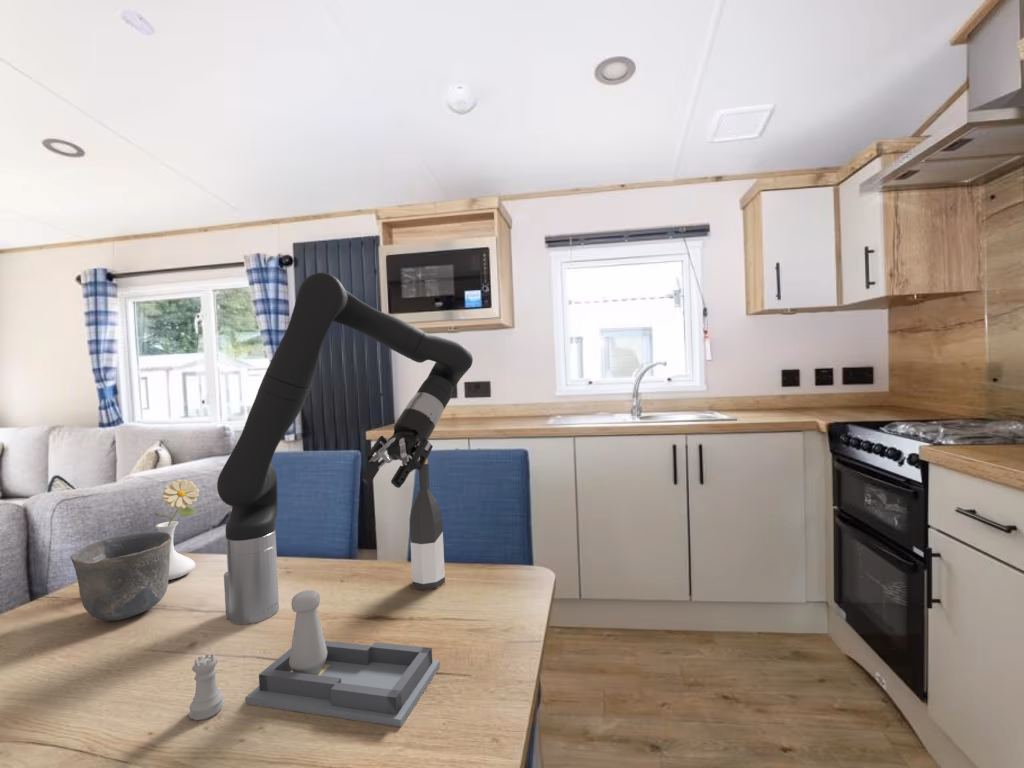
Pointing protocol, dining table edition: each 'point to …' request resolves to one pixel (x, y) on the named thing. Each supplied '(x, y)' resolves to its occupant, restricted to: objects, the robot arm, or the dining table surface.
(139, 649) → the dining table surface
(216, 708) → the rook chess piece
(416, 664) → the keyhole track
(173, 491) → the flower in vase
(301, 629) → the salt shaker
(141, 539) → the grey stone bowl
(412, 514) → the wine bottle
